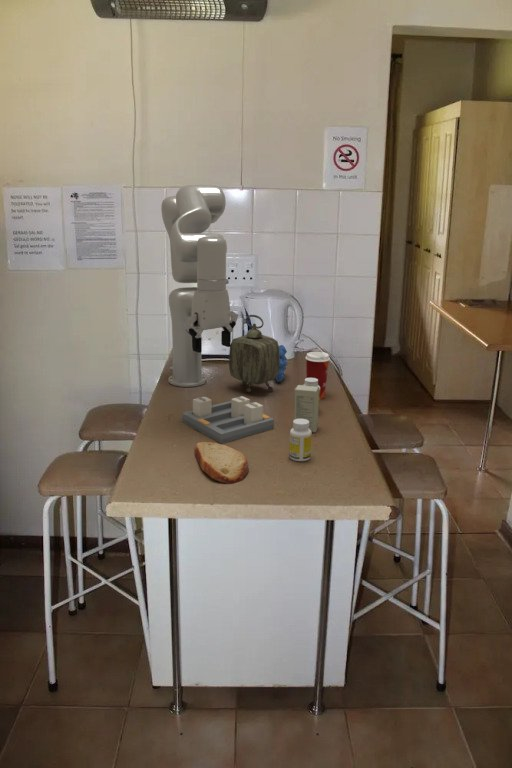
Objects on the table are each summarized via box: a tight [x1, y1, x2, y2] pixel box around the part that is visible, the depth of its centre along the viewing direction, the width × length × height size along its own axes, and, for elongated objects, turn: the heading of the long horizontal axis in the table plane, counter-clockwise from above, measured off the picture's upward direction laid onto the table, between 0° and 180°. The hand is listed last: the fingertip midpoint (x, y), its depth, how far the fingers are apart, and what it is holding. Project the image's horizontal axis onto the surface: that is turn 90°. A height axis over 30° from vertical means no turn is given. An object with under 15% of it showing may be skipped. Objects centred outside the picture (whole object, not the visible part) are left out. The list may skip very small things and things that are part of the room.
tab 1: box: [230, 395, 251, 418], centre depth 188 cm, size 3×4×6 cm
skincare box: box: [293, 384, 320, 433], centre depth 183 cm, size 6×4×12 cm
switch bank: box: [181, 400, 275, 445], centre depth 186 cm, size 19×18×3 cm
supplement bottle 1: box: [288, 419, 313, 462], centre depth 166 cm, size 5×5×10 cm
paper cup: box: [305, 351, 331, 400], centre depth 209 cm, size 8×8×14 cm
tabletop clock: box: [228, 314, 280, 393], centre depth 211 cm, size 14×9×25 cm, turn 53°
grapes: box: [274, 344, 288, 383], centre depth 224 cm, size 12×7×12 cm, turn 171°
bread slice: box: [194, 441, 250, 485], centre depth 162 cm, size 18×18×4 cm
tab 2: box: [244, 401, 264, 425], centre depth 184 cm, size 3×4×6 cm
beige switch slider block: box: [192, 396, 212, 417], centre depth 187 cm, size 3×4×6 cm
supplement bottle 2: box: [303, 377, 321, 413], centre depth 196 cm, size 6×6×10 cm
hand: (211, 348), depth 178 cm, fingers open, 9 cm apart
